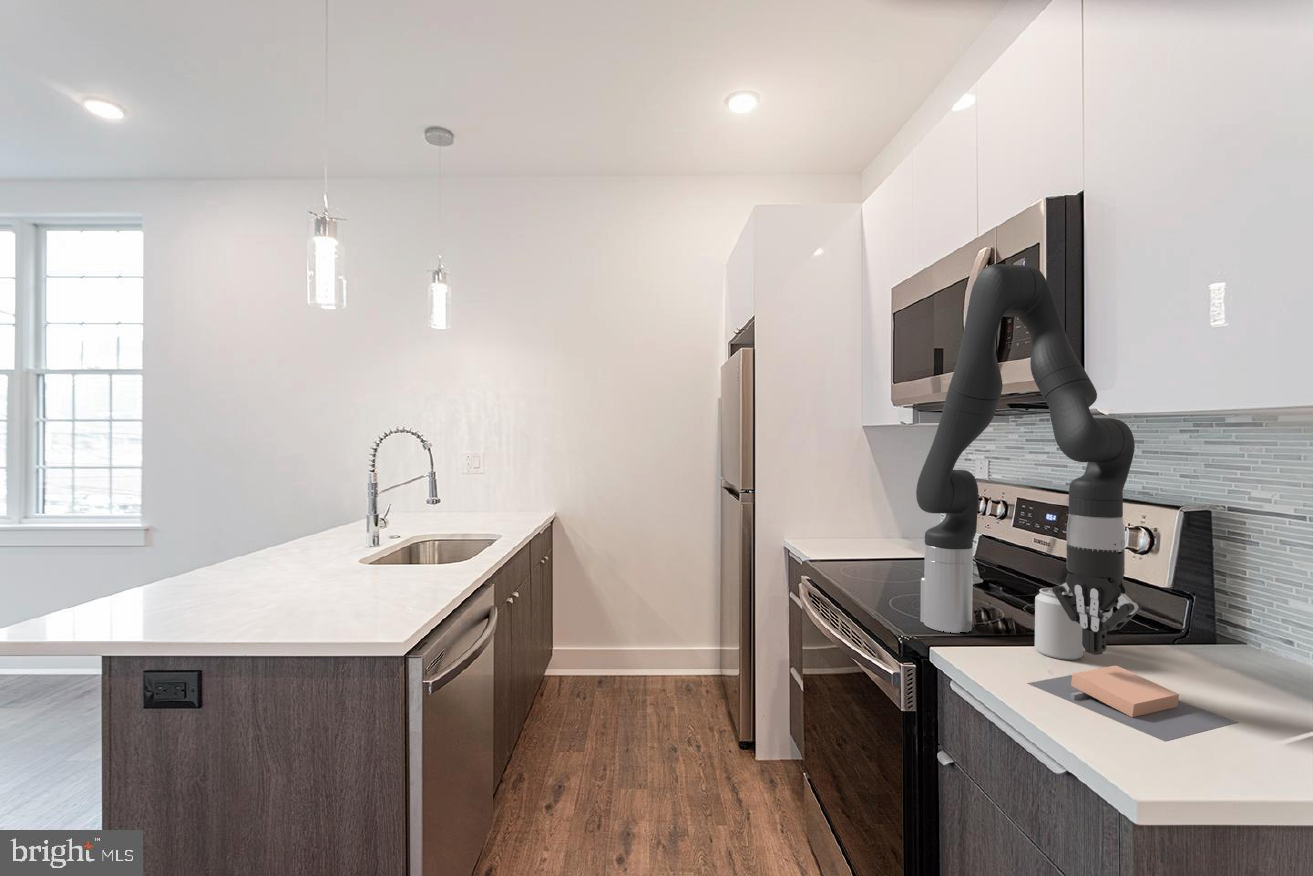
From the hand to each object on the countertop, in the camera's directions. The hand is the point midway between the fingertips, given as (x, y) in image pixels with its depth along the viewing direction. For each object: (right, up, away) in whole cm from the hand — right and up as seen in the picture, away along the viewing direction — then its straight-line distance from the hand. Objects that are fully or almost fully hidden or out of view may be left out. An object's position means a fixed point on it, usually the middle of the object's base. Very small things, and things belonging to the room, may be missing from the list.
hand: (1094, 653), depth 98 cm
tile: (0, -4, 0) cm, 4 cm away
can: (+5, -6, +16) cm, 18 cm away
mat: (+2, -6, -4) cm, 8 cm away
